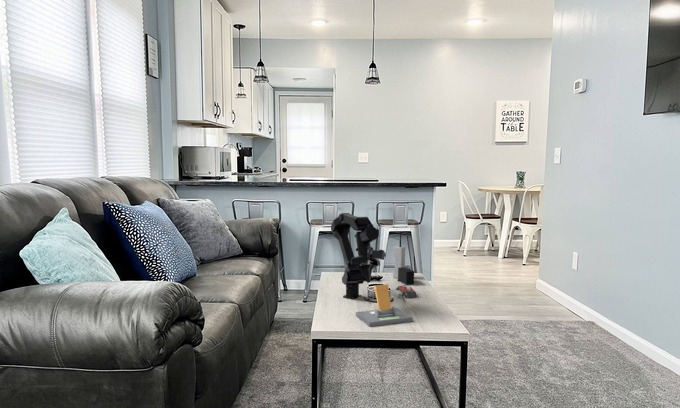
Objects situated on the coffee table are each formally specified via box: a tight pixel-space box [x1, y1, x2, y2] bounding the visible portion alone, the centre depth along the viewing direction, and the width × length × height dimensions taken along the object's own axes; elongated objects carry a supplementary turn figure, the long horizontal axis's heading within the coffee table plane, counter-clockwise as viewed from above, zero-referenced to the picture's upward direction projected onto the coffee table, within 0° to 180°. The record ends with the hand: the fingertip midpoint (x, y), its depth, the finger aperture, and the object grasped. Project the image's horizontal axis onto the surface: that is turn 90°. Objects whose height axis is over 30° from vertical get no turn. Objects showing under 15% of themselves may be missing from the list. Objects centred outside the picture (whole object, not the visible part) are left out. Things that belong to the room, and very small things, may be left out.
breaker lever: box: [373, 284, 393, 315], centre depth 172 cm, size 2×6×11 cm, turn 110°
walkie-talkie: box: [395, 284, 417, 302], centre depth 204 cm, size 9×4×20 cm
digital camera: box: [397, 266, 415, 286], centre depth 229 cm, size 10×5×7 cm, turn 17°
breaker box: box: [355, 305, 414, 327], centre depth 172 cm, size 13×18×4 cm
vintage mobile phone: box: [392, 231, 406, 279], centre depth 239 cm, size 4×5×25 cm
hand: (368, 282), depth 185 cm, fingers closed
